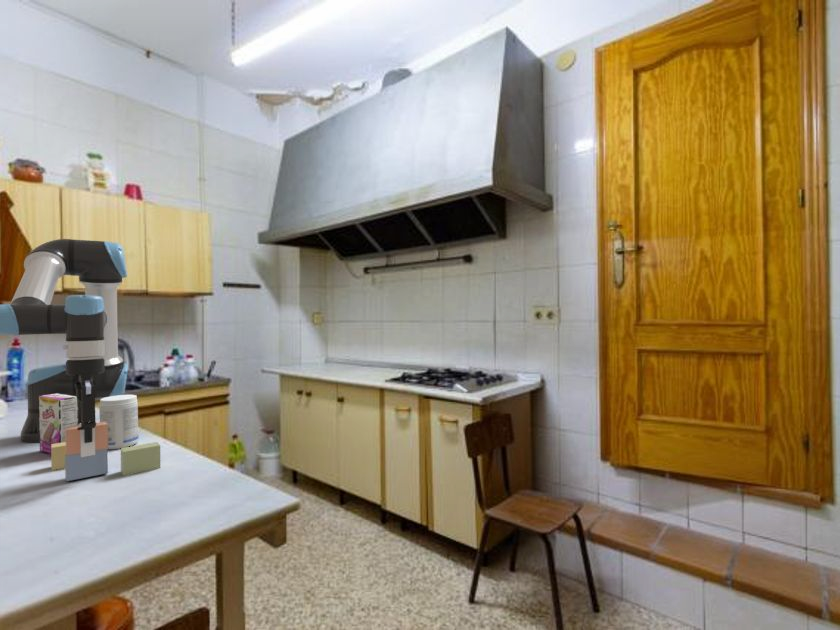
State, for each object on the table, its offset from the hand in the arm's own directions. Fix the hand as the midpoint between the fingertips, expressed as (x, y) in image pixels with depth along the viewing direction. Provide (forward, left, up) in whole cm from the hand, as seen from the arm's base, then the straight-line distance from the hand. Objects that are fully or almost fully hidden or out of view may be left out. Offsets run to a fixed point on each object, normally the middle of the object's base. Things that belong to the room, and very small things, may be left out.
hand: (86, 452), depth 106 cm
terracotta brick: (-1, 0, 0) cm, 1 cm away
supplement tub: (-25, +10, -6) cm, 28 cm away
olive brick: (+3, +11, -6) cm, 13 cm away
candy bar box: (-29, -4, -6) cm, 30 cm away
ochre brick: (-13, -2, -6) cm, 15 cm away
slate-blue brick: (0, 0, -6) cm, 6 cm away
